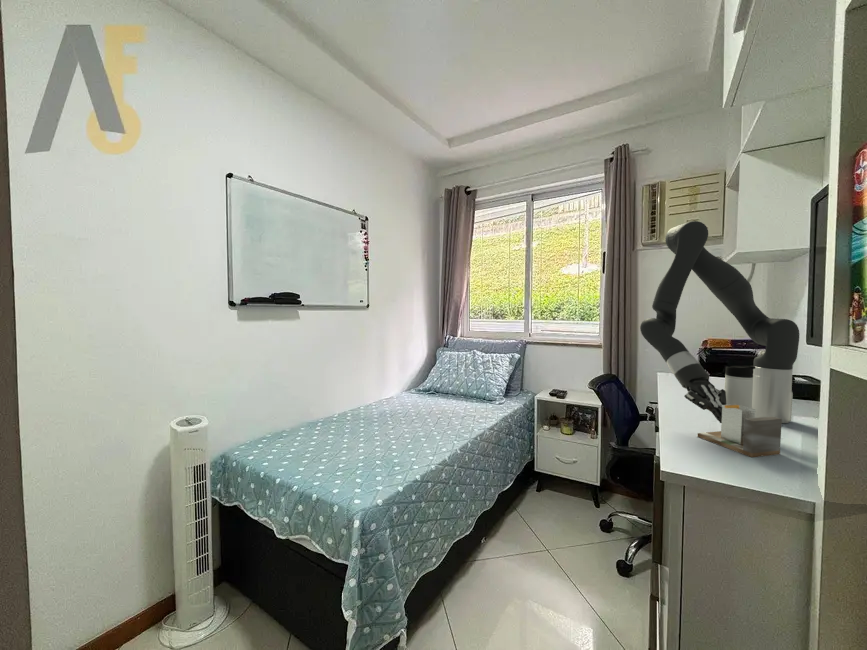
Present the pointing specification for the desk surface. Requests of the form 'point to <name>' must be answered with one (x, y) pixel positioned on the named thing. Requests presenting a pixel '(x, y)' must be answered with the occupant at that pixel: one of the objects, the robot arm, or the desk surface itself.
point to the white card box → (735, 422)
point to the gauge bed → (753, 437)
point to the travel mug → (739, 385)
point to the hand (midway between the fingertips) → (725, 421)
